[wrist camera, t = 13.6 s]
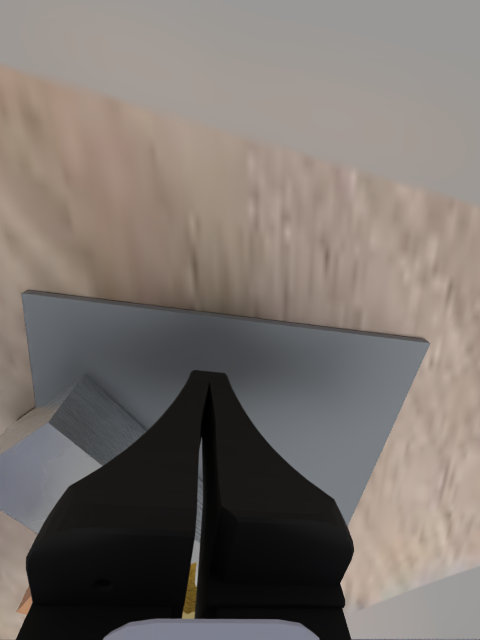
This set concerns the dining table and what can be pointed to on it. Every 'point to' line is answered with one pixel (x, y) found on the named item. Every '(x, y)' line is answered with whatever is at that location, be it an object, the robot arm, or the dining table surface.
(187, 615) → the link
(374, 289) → the dining table surface
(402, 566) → the dining table surface
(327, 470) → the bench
